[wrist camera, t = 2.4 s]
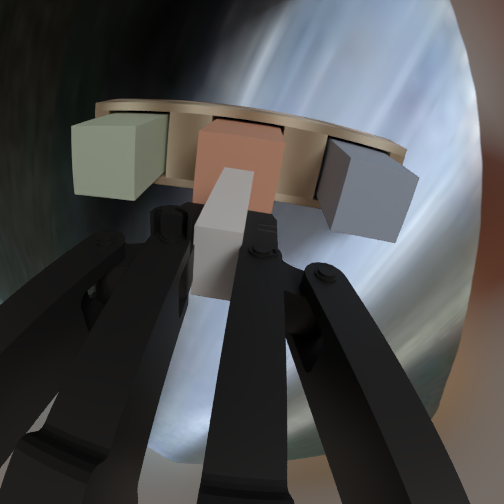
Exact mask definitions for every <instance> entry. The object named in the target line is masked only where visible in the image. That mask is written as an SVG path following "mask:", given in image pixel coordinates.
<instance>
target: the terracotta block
mask: <svg viewBox="0 0 504 504" xmlns="http://www.w3.org/2000/svg"><path fill="white" fill-rule="evenodd" d="M285 144H286V143H285V140H284V137H283V134H282V132H281V129H280V127H275V126H269V125H263V124H257V123H251V122H244V121H237V120H229V119H221V118H217V119H216V120H214V121H213V122H211V123H210V124H208V125H207V126H205V127H204V128H202V129H201V130H200V131H199V136H198V145H197V155H196V166H195V177H194V189H193V202H192V203H199V204H206V202H207V200H208V198H209V196H210V194H211V192H212V190H213V188H214V186H215V184H216V182H217V181H218V179H219V177H220V175H221V173H222V171H223V169H224V167H227V168H234V169H240V170H247V171H253V172H254V176H253V182H252V188H251V194H250V200H249V206H248V210H250V211H257V212H263V213H269V214H272V209H273V204H274V199H275V194H276V189H277V184H278V179H279V174H280V169H281V164H282V159H283V154H284V149H285Z"/></svg>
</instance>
